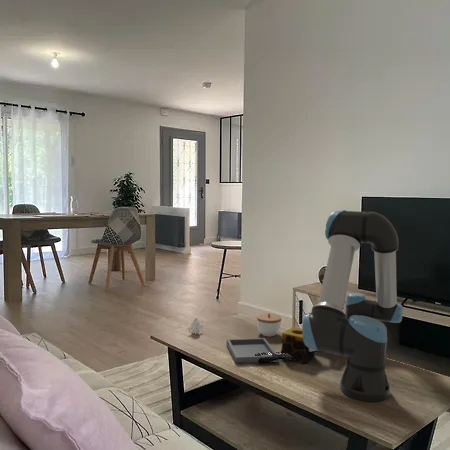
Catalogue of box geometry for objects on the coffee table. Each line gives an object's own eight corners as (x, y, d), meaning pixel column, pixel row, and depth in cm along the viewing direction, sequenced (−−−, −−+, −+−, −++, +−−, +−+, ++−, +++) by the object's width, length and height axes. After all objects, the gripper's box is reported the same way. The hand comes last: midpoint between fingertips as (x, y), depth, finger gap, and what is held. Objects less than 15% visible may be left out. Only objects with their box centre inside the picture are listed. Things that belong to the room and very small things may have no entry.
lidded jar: (281, 338, 192) (282, 317, 191) (256, 337, 192) (257, 316, 191) (279, 330, 202) (280, 310, 201) (255, 330, 202) (256, 309, 202)
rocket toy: (200, 336, 192) (200, 318, 192) (188, 335, 193) (188, 317, 193) (203, 332, 198) (203, 314, 197) (191, 331, 199) (191, 313, 198)
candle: (304, 365, 163) (306, 338, 162) (280, 358, 169) (281, 333, 168) (315, 356, 172) (316, 331, 171) (291, 351, 177) (292, 326, 176)
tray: (278, 362, 165) (278, 355, 165) (235, 364, 162) (236, 357, 162) (264, 343, 184) (264, 337, 184) (226, 345, 182) (226, 339, 181)
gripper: (360, 353, 171) (319, 363, 160) (315, 334, 192) (276, 342, 181) (361, 334, 170) (320, 342, 159) (316, 317, 191) (277, 323, 180)
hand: (297, 342), depth 170 cm, fingers open, 13 cm apart
